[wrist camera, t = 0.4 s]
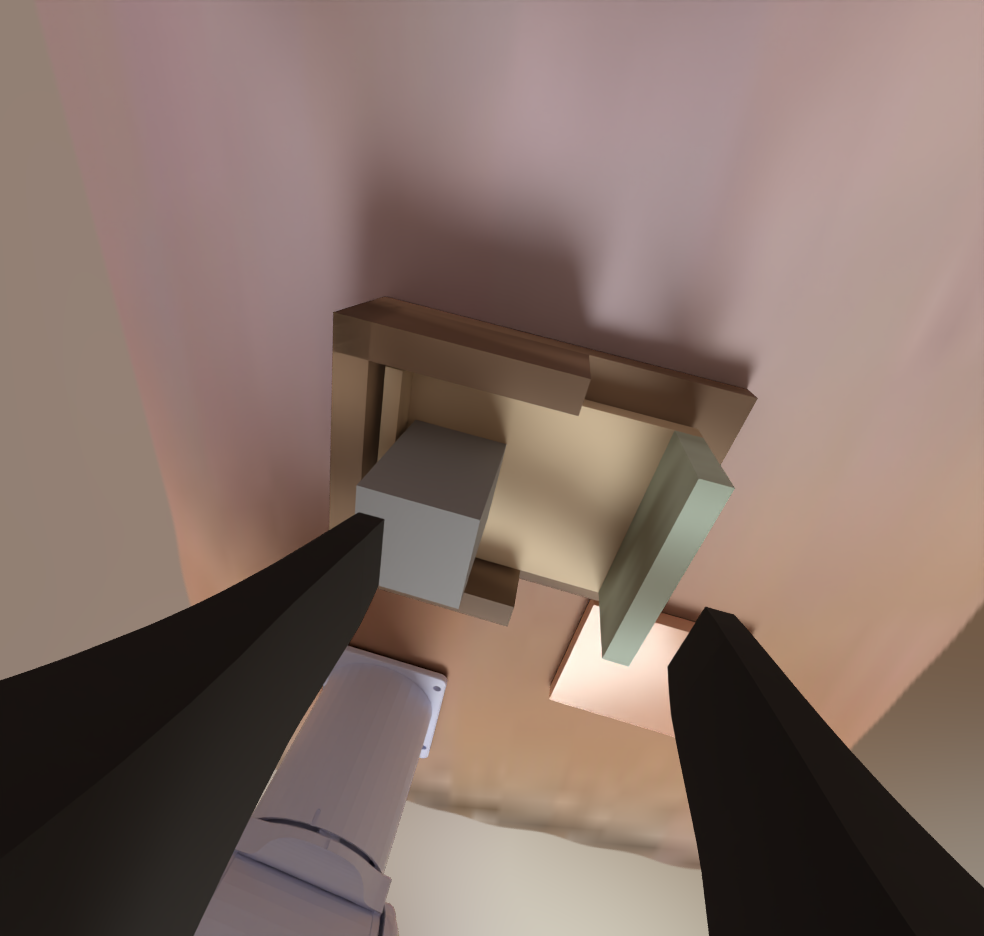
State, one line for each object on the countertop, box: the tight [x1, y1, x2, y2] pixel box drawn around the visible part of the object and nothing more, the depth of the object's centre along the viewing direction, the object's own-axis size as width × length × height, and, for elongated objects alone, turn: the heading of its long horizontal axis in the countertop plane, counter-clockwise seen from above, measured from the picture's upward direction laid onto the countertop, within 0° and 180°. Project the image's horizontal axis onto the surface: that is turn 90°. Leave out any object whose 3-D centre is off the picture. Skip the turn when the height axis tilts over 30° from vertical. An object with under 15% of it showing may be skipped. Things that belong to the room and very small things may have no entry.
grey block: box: [355, 420, 507, 609], centre depth 15 cm, size 4×4×5 cm
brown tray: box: [329, 297, 758, 626], centre depth 17 cm, size 11×14×4 cm
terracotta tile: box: [549, 599, 695, 737], centre depth 23 cm, size 8×8×1 cm
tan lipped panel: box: [377, 366, 735, 667], centre depth 16 cm, size 8×11×4 cm
